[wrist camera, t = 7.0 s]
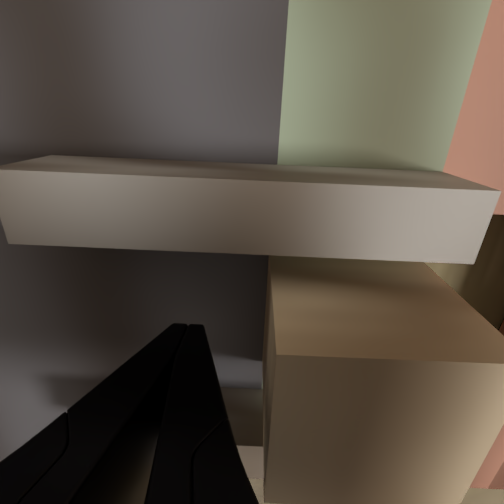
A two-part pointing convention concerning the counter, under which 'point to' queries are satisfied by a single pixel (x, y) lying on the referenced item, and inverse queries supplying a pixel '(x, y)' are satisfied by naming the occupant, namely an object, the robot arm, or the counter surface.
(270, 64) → the channel deck
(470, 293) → the counter surface
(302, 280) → the maple block
